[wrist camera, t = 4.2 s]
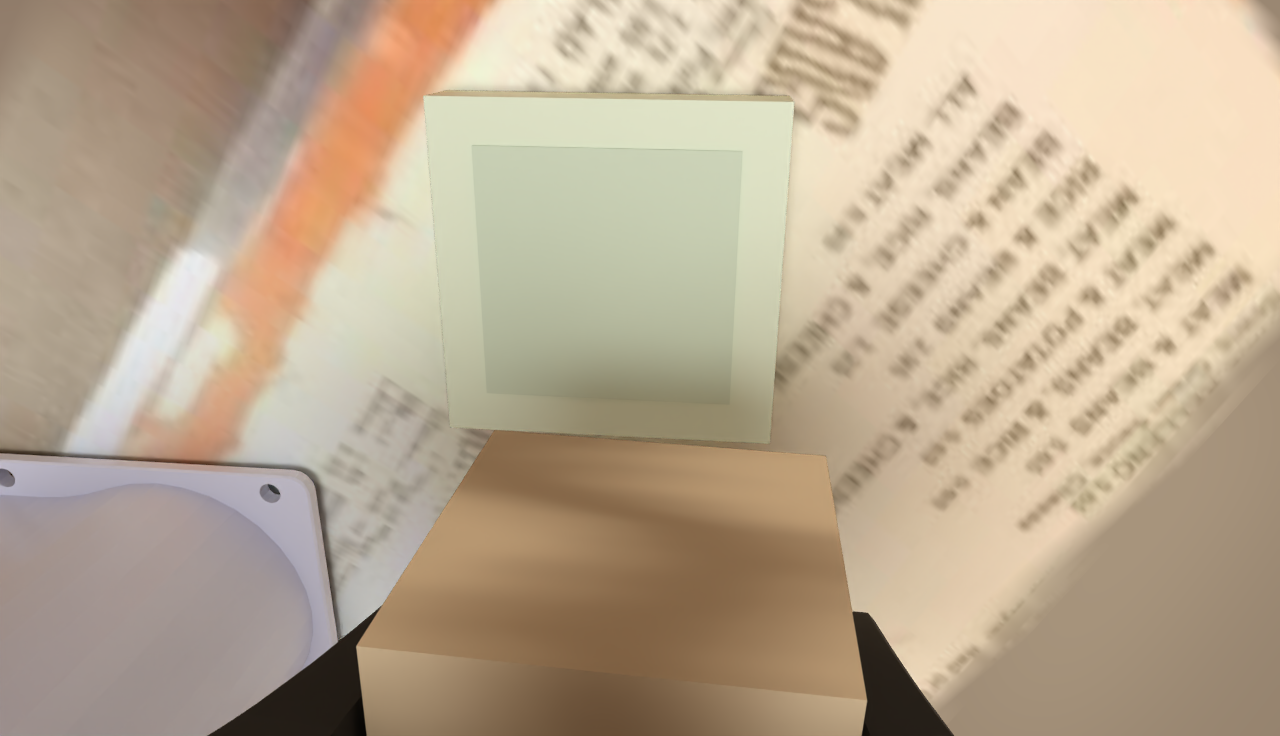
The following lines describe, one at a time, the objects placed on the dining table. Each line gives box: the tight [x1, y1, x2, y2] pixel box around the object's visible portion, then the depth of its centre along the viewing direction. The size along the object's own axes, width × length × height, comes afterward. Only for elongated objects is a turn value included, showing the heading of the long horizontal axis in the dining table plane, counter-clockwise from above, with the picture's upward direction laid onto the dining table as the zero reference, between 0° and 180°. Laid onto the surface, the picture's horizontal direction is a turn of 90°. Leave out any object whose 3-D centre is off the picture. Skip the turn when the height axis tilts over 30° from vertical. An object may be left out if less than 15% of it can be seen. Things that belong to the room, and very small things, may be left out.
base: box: [423, 90, 794, 444], centre depth 18 cm, size 7×7×2 cm
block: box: [356, 430, 867, 736], centre depth 12 cm, size 5×5×5 cm
